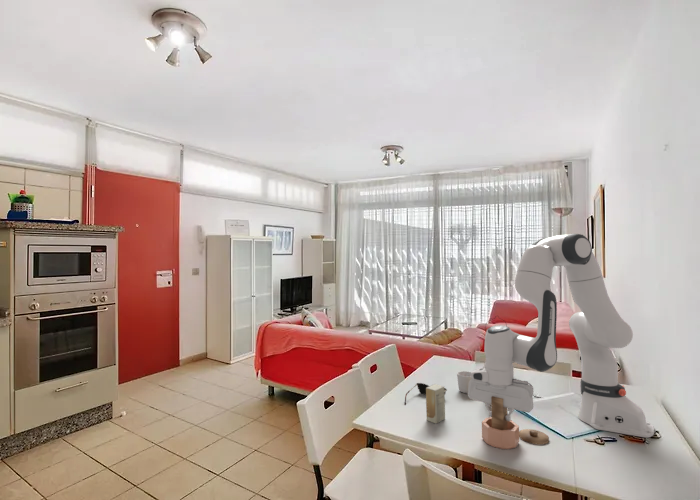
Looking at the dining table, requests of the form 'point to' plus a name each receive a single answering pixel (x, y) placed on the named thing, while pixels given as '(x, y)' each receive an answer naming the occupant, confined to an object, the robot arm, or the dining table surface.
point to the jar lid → (533, 436)
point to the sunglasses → (421, 389)
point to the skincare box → (435, 403)
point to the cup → (463, 380)
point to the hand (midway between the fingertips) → (499, 418)
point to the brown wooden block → (498, 414)
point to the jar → (500, 435)
